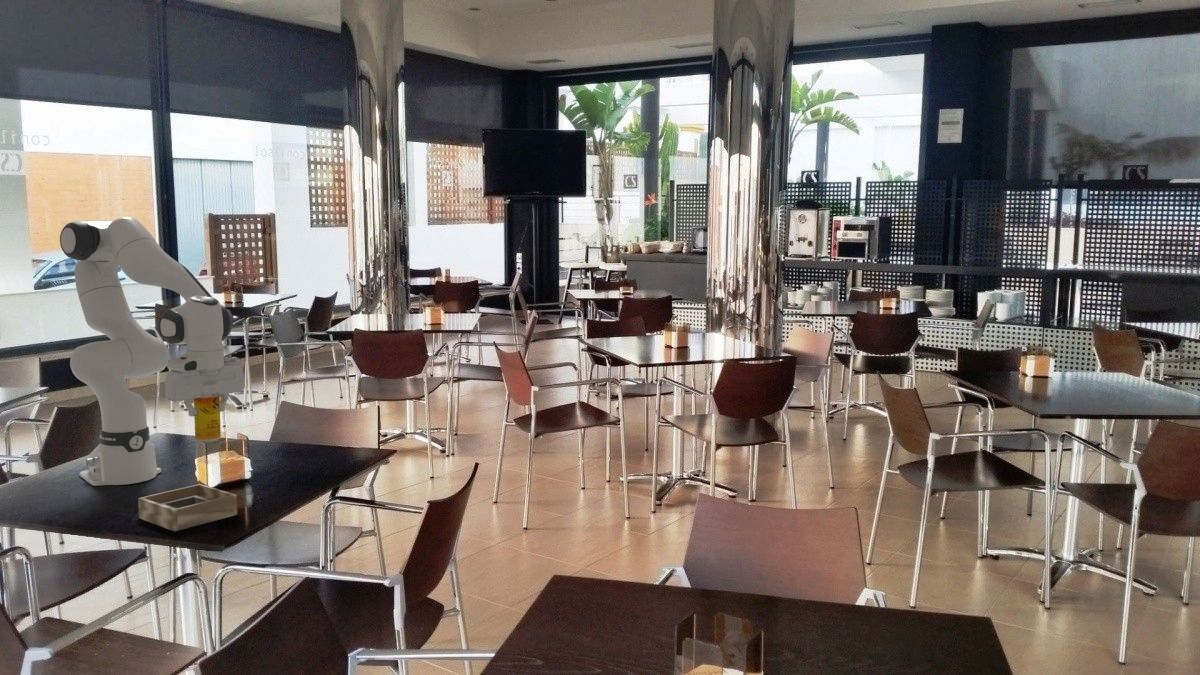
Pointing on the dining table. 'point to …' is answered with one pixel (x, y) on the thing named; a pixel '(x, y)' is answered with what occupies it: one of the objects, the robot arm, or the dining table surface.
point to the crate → (187, 507)
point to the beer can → (208, 414)
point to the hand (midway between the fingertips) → (206, 413)
